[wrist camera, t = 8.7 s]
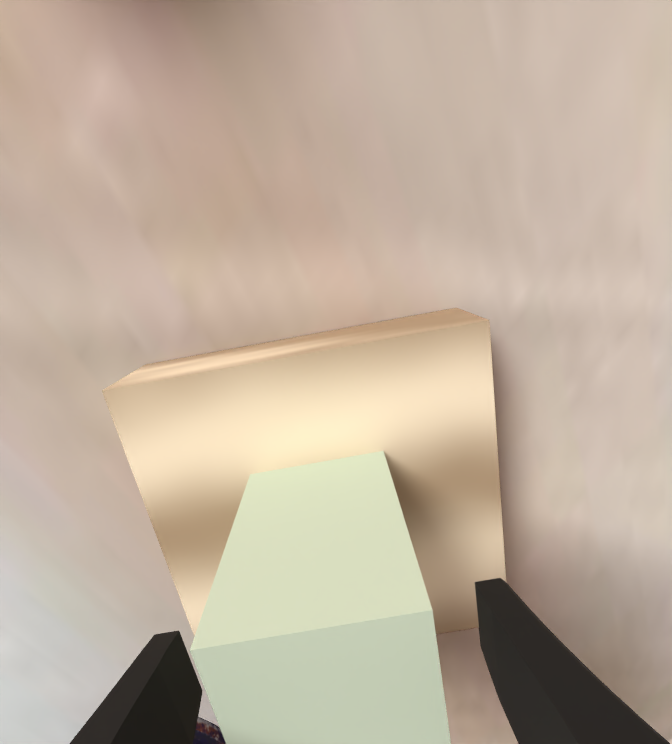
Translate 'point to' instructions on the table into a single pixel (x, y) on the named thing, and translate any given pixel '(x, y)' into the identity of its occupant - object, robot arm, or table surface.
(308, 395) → the birch plinth
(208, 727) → the storage jar
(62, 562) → the table surface
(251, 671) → the sage block
